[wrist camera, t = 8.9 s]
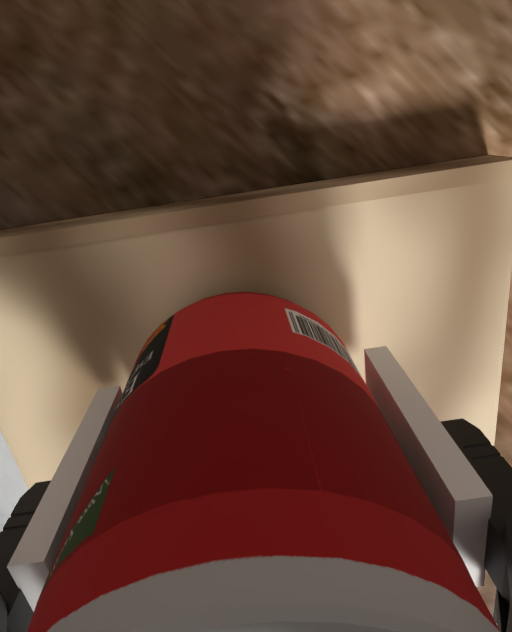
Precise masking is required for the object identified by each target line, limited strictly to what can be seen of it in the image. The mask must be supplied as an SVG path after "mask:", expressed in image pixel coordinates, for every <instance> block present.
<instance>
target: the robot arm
mask: <svg viewBox="0 0 512 632" xmlns="http://www.w3.org/2000/svg"><path fill="white" fill-rule="evenodd" d="M364 360H365V381H366V385H367V387H368V389H369V391H370V393H371V394H372V396H373V398H374V400H375V402H376V403H377V405H378V407H379V409H380V411H381V413H382V414H383V416H384V418H385V420H386V422H387V423H388V425H389V427H390V429H391V431H392V432H393V434H394V436H395V438H396V440H397V441H398V443H399V445H400V447H401V449H402V451H403V452H404V454H405V456H406V458H407V460H408V461H409V463H410V465H411V467H412V469H413V470H414V472H415V474H416V476H417V478H418V480H419V481H420V483H421V485H422V487H423V489H424V490H425V492H426V494H427V496H428V498H429V499H430V501H431V503H432V505H433V507H434V509H435V510H436V512H437V514H438V516H439V518H440V519H441V521H442V523H443V525H444V527H445V528H446V530H447V532H448V534H449V536H450V538H451V539H452V541H453V543H454V545H455V547H456V548H457V550H458V552H459V554H460V556H461V557H462V559H463V561H464V563H465V565H466V567H467V569H468V571H469V573H470V575H471V577H472V580H473V582H474V584H475V586H476V587H477V586H484V578H485V568H486V570H487V572H488V574H489V575H490V577H491V579H492V580H493V582H494V584H495V586H496V587H497V590H496V598H495V607H494V615H493V619H494V621H495V623H498V628H499V630H500V632H512V467H511V466H510V465H509V464H508V463H507V461H506V460H505V459H504V458H503V457H501V456H500V453H499V452H498V451H497V449H496V448H495V447H494V446H493V445H491V442H490V441H489V440H488V438H487V437H486V436H485V435H484V434H483V432H482V431H481V430H480V429H479V428H477V427H476V426H474V425H473V424H471V423H469V422H468V421H466V420H464V419H463V418H461V419H454V420H448V421H441V422H440V421H439V419H438V418H437V416H436V415H435V414H434V412H433V411H432V409H431V408H430V407H429V405H428V404H427V402H426V401H425V400H424V398H423V397H422V395H421V394H420V393H419V391H418V390H417V388H416V387H415V386H414V384H413V383H412V381H411V380H410V379H409V377H408V376H407V374H406V373H405V372H404V370H403V369H402V367H401V366H400V365H399V363H398V362H397V360H396V359H395V358H394V356H393V355H392V353H391V352H390V351H389V349H388V348H387V346H382V347H375V348H369V349H364ZM122 394H123V393H122V390H121V387H120V386H115V387H108V388H102V389H98V390H97V392H96V394H95V396H94V398H93V400H92V402H91V404H90V406H89V408H88V410H87V412H86V414H85V416H84V418H83V419H82V421H81V423H80V425H79V427H78V429H77V431H76V433H75V435H74V437H73V439H72V441H71V443H70V445H69V447H68V449H67V451H66V453H65V455H64V456H63V458H62V460H61V462H60V464H59V466H58V468H57V470H56V472H55V474H54V476H53V478H52V480H50V481H44V482H37V483H35V484H34V485H33V486H32V487H31V488H30V489H29V490H28V491H27V492H26V493H25V494H24V495H23V496H22V497H21V498H20V499H19V501H18V503H17V505H16V506H15V508H14V510H13V512H12V513H11V518H9V519H8V520H7V522H6V524H5V526H4V527H3V531H2V532H1V533H0V632H27V630H28V627H29V625H30V622H31V619H32V616H33V613H34V610H35V607H36V604H37V601H38V599H39V596H40V594H41V591H42V589H43V586H44V584H45V582H46V579H47V577H48V574H49V572H50V569H51V567H52V564H53V562H54V560H55V557H56V555H57V552H58V550H59V547H60V545H61V543H62V540H63V538H64V535H65V533H66V530H67V528H68V525H69V523H70V521H71V518H72V516H73V513H74V511H75V508H76V506H77V503H78V501H79V499H80V496H81V494H82V491H83V489H84V486H85V484H86V481H87V479H88V477H89V474H90V472H91V469H92V467H93V464H94V462H95V459H96V457H97V455H98V452H99V450H100V447H101V445H102V442H103V440H104V438H105V435H106V433H107V430H108V428H109V425H110V423H111V420H112V418H113V416H114V413H115V411H116V408H117V406H118V403H119V401H120V398H121V396H122Z"/></svg>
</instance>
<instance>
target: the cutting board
mask: <svg viewBox="0 0 512 632" xmlns="http://www.w3.org/2000/svg"><path fill="white" fill-rule="evenodd" d="M511 268H512V157H505V156H495V155H485V156H478V157H472V158H465V159H459V160H452V161H445V162H439V163H432V164H426V165H419V166H413V167H406V168H400V169H393V170H387V171H380V172H374V173H367V174H361V175H354V176H348V177H341V178H334V179H328V180H321V181H315V182H308V183H302V184H295V185H289V186H282V187H276V188H269V189H263V190H256V191H250V192H243V193H237V194H230V195H223V196H217V197H210V198H204V199H197V200H191V201H184V202H178V203H171V204H165V205H158V206H152V207H145V208H139V209H132V210H126V211H119V212H112V213H106V214H99V215H93V216H86V217H80V218H73V219H67V220H60V221H54V222H47V223H41V224H34V225H28V226H21V227H15V228H8V229H1V230H0V429H1V431H2V433H3V436H4V438H5V440H6V442H7V444H8V446H9V448H10V451H11V453H12V455H13V457H14V459H15V461H16V464H17V466H18V468H19V470H20V472H21V474H22V476H23V479H24V481H25V483H26V485H27V487H28V489H30V488H31V487H32V486H33V485H34V484H35V483H37V482H44V481H50V480H52V478H53V476H54V474H55V472H56V470H57V468H58V466H59V464H60V462H61V460H62V458H63V456H64V455H65V453H66V451H67V449H68V447H69V445H70V443H71V441H72V439H73V437H74V435H75V433H76V431H77V429H78V427H79V425H80V423H81V421H82V419H83V418H84V416H85V414H86V412H87V410H88V408H89V406H90V404H91V402H92V400H93V398H94V396H95V394H96V392H97V390H98V389H102V388H108V387H115V386H120V387H121V390H122V393H123V391H124V389H125V386H126V384H127V381H128V379H129V376H130V374H131V372H132V369H133V367H134V364H135V362H136V359H137V357H138V355H139V353H140V351H141V350H142V348H143V346H144V344H145V342H146V341H147V339H148V338H149V337H150V336H151V334H152V333H153V332H154V331H155V330H156V329H157V328H158V327H159V325H160V324H161V323H163V322H164V321H165V320H167V319H168V318H170V317H171V316H172V315H174V314H175V313H176V312H178V311H179V310H181V309H183V308H185V307H186V306H189V305H191V304H193V303H195V302H197V301H199V300H202V299H204V298H207V297H211V296H215V295H219V294H223V293H233V292H254V293H264V294H269V295H273V296H276V297H279V298H283V299H286V300H289V301H291V302H293V303H295V304H297V305H299V306H301V307H303V308H305V309H307V310H309V311H311V312H313V313H314V314H315V315H317V316H318V317H319V318H320V319H322V320H323V321H324V322H325V323H327V324H328V325H329V326H330V327H331V328H332V329H333V331H334V332H335V333H336V334H337V336H338V337H339V338H340V339H341V340H342V342H343V344H344V345H345V347H346V349H347V351H348V353H349V355H350V356H351V358H352V360H353V362H354V364H355V365H356V367H357V369H358V371H359V373H360V374H361V376H362V378H363V380H364V382H365V384H366V381H365V360H364V349H369V348H375V347H382V346H387V348H388V349H389V351H390V352H391V353H392V355H393V356H394V358H395V359H396V360H397V362H398V363H399V365H400V366H401V367H402V369H403V370H404V372H405V373H406V374H407V376H408V377H409V379H410V380H411V381H412V383H413V384H414V386H415V387H416V388H417V390H418V391H419V393H420V394H421V395H422V397H423V398H424V400H425V401H426V402H427V404H428V405H429V407H430V408H431V409H432V411H433V412H434V414H435V415H436V416H437V418H438V419H439V421H440V422H441V421H448V420H454V419H461V418H463V419H464V420H466V421H468V422H469V423H471V424H473V425H474V426H476V427H477V428H479V429H480V430H481V431H482V432H483V434H484V435H485V436H486V437H487V438H488V440H489V441H490V442H491V445H493V446H494V442H495V432H496V422H497V411H498V401H499V391H500V381H501V370H502V360H503V350H504V340H505V330H506V319H507V309H508V299H509V289H510V278H511Z"/></svg>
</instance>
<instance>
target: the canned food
mask: <svg viewBox="0 0 512 632" xmlns="http://www.w3.org/2000/svg"><path fill="white" fill-rule="evenodd" d="M27 632H500V630H499V628H498V627H497V625H496V623H495V621H494V619H493V617H492V615H491V614H490V612H489V610H488V608H487V606H486V604H485V603H484V601H483V599H482V597H481V595H480V593H479V591H478V590H477V588H476V586H475V584H474V582H473V580H472V577H471V575H470V573H469V571H468V569H467V567H466V565H465V563H464V561H463V559H462V557H461V556H460V554H459V552H458V550H457V548H456V547H455V545H454V543H453V541H452V539H451V538H450V536H449V534H448V532H447V530H446V528H445V527H444V525H443V523H442V521H441V519H440V518H439V516H438V514H437V512H436V510H435V509H434V507H433V505H432V503H431V501H430V499H429V498H428V496H427V494H426V492H425V490H424V489H423V487H422V485H421V483H420V481H419V480H418V478H417V476H416V474H415V472H414V470H413V469H412V467H411V465H410V463H409V461H408V460H407V458H406V456H405V454H404V452H403V451H402V449H401V447H400V445H399V443H398V441H397V440H396V438H395V436H394V434H393V432H392V431H391V429H390V427H389V425H388V423H387V422H386V420H385V418H384V416H383V414H382V413H381V411H380V409H379V407H378V405H377V403H376V402H375V400H374V398H373V396H372V394H371V393H370V391H369V389H368V387H367V385H366V384H365V382H364V380H363V378H362V376H361V374H360V373H359V371H358V369H357V367H356V365H355V364H354V362H353V360H352V358H351V356H350V355H349V353H348V351H347V349H346V347H345V345H344V344H343V342H342V340H341V339H340V338H339V337H338V336H337V334H336V333H335V332H334V331H333V329H332V328H331V327H330V326H329V325H328V324H327V323H325V322H324V321H323V320H322V319H320V318H319V317H318V316H317V315H315V314H314V313H313V312H311V311H309V310H307V309H305V308H303V307H301V306H299V305H297V304H295V303H293V302H291V301H289V300H286V299H283V298H279V297H276V296H273V295H269V294H264V293H254V292H233V293H223V294H219V295H215V296H211V297H207V298H204V299H202V300H199V301H197V302H195V303H193V304H191V305H189V306H186V307H185V308H183V309H181V310H179V311H178V312H176V313H175V314H174V315H172V316H171V317H170V318H168V319H167V320H165V321H164V322H163V323H161V324H160V325H159V327H158V328H157V329H156V330H155V331H154V332H153V333H152V334H151V336H150V337H149V338H148V339H147V341H146V342H145V344H144V346H143V348H142V350H141V351H140V353H139V355H138V357H137V359H136V362H135V364H134V367H133V369H132V372H131V374H130V376H129V379H128V381H127V384H126V386H125V389H124V391H123V394H122V396H121V398H120V401H119V403H118V406H117V408H116V411H115V413H114V416H113V418H112V420H111V423H110V425H109V428H108V430H107V433H106V435H105V438H104V440H103V442H102V445H101V447H100V450H99V452H98V455H97V457H96V459H95V462H94V464H93V467H92V469H91V472H90V474H89V477H88V479H87V481H86V484H85V486H84V489H83V491H82V494H81V496H80V499H79V501H78V503H77V506H76V508H75V511H74V513H73V516H72V518H71V521H70V523H69V525H68V528H67V530H66V533H65V535H64V538H63V540H62V543H61V545H60V547H59V550H58V552H57V555H56V557H55V560H54V562H53V564H52V567H51V569H50V572H49V574H48V577H47V579H46V582H45V584H44V586H43V589H42V591H41V594H40V596H39V599H38V601H37V604H36V607H35V610H34V613H33V616H32V619H31V622H30V625H29V627H28V630H27Z"/></svg>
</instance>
